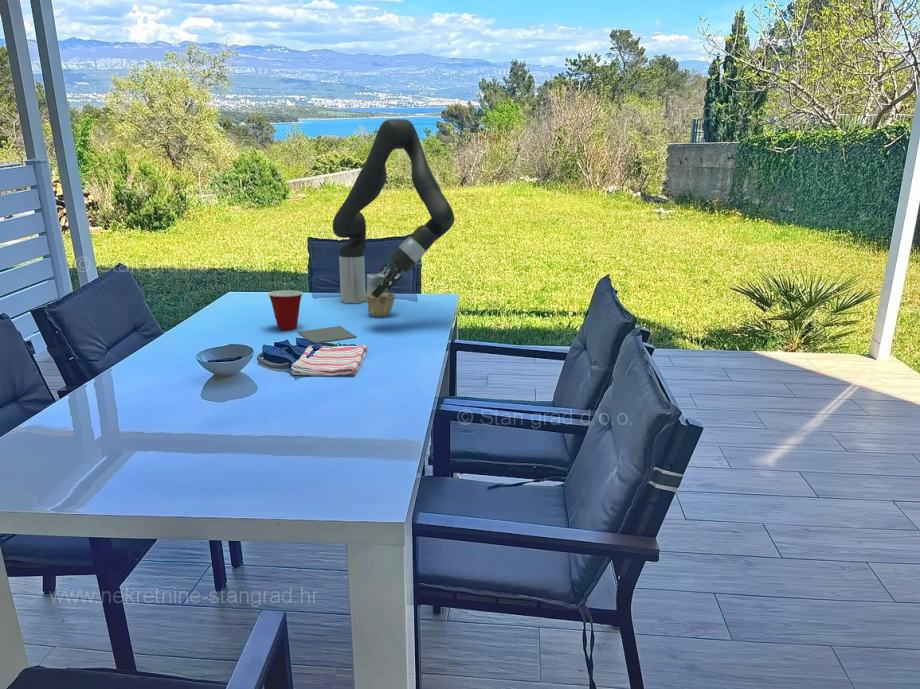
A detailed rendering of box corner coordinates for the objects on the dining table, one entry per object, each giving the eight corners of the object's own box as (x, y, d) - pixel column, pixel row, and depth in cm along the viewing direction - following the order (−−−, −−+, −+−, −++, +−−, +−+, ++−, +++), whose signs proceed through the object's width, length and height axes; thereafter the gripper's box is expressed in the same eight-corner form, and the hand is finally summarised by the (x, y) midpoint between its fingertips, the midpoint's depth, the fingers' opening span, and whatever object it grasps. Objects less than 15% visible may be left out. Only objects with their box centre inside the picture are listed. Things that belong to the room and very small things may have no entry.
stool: (384, 309, 217) (383, 273, 214) (388, 314, 212) (388, 276, 209) (367, 311, 216) (366, 274, 212) (371, 315, 211) (370, 277, 207)
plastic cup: (309, 324, 220) (307, 288, 216) (298, 333, 210) (296, 295, 206) (277, 323, 221) (275, 287, 217) (265, 331, 211) (262, 294, 207)
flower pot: (362, 313, 235) (361, 293, 233) (389, 310, 239) (389, 291, 237) (371, 320, 226) (370, 299, 224) (399, 317, 230) (398, 296, 228)
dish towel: (289, 378, 171) (288, 365, 170) (310, 351, 194) (309, 339, 193) (355, 378, 171) (354, 366, 170) (368, 351, 193) (368, 340, 192)
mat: (297, 332, 210) (297, 331, 210) (339, 327, 217) (339, 325, 217) (312, 343, 199) (312, 342, 198) (356, 337, 205) (356, 336, 205)
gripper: (393, 243, 217) (358, 281, 216) (406, 250, 204) (368, 291, 203) (409, 258, 220) (374, 296, 220) (422, 266, 207) (386, 306, 207)
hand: (372, 293), depth 212 cm, fingers closed on stool, 5 cm apart
